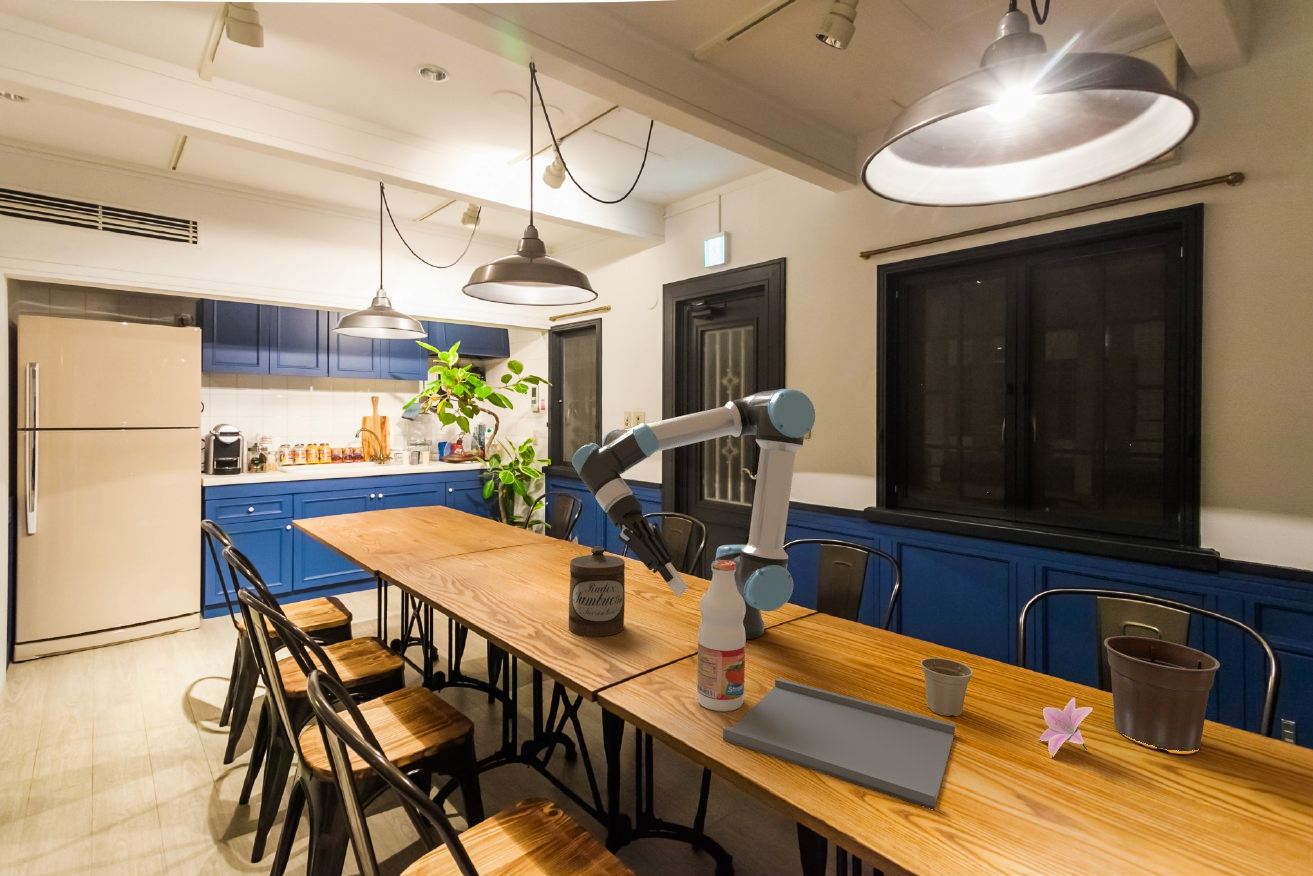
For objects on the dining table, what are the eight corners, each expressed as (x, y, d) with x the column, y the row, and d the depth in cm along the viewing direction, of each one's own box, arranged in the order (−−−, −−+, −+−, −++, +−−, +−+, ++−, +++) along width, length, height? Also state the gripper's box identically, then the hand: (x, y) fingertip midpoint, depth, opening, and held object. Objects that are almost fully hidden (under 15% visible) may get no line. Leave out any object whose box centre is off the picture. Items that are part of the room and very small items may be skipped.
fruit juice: (702, 688, 127) (706, 555, 126) (747, 695, 124) (751, 559, 123) (691, 708, 118) (695, 565, 117) (739, 716, 115) (743, 570, 114)
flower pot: (967, 703, 123) (968, 661, 123) (975, 725, 114) (977, 680, 114) (917, 695, 126) (918, 654, 126) (920, 716, 117) (922, 672, 117)
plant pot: (1182, 771, 100) (1187, 674, 100) (1081, 725, 115) (1084, 641, 114) (1235, 752, 107) (1239, 661, 106) (1132, 711, 121) (1136, 631, 121)
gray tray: (723, 740, 106) (723, 728, 106) (776, 687, 128) (777, 678, 128) (934, 810, 88) (934, 797, 88) (954, 735, 110) (955, 724, 110)
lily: (1045, 734, 113) (1024, 693, 113) (1113, 730, 107) (1091, 687, 106) (1045, 778, 105) (1022, 734, 104) (1119, 777, 98) (1094, 730, 98)
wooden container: (571, 639, 153) (573, 552, 153) (566, 620, 168) (567, 541, 167) (628, 635, 157) (630, 551, 156) (618, 617, 171) (620, 540, 171)
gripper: (626, 511, 140) (686, 595, 132) (591, 518, 129) (654, 610, 121) (646, 490, 137) (709, 575, 129) (612, 495, 126) (678, 588, 118)
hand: (682, 592), depth 125 cm, fingers closed
